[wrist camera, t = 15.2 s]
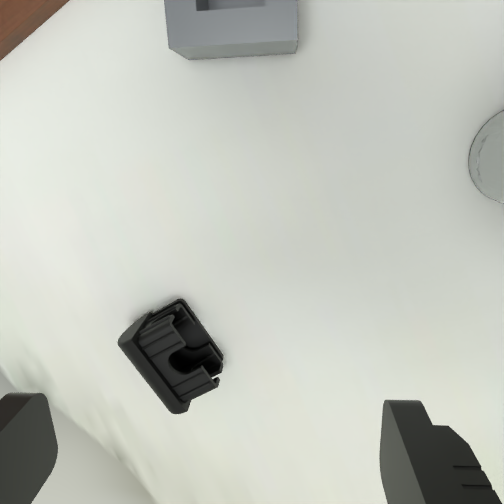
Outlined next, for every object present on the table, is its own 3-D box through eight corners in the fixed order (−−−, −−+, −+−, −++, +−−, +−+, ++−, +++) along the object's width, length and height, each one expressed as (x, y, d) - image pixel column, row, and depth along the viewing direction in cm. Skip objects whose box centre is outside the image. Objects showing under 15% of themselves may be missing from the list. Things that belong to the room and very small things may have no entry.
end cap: (130, 320, 48) (107, 352, 42) (179, 293, 46) (163, 321, 40) (179, 384, 50) (163, 423, 44) (227, 360, 49) (218, 397, 42)
